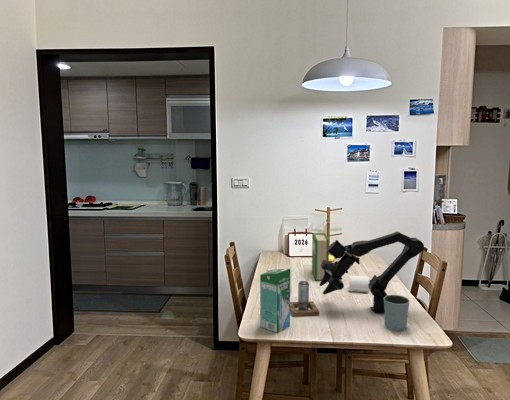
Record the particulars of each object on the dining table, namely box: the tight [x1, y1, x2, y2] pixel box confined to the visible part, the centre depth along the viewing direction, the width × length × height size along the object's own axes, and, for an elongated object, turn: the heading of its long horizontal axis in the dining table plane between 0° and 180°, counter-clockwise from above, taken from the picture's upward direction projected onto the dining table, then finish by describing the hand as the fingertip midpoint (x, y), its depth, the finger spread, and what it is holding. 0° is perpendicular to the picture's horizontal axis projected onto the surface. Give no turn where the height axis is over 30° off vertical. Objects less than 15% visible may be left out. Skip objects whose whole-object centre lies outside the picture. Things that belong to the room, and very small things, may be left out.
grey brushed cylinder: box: [297, 280, 310, 310], centre depth 183 cm, size 5×5×14 cm
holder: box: [290, 300, 320, 318], centre depth 184 cm, size 12×12×2 cm
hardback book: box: [311, 232, 330, 282], centre depth 233 cm, size 18×7×24 cm, turn 177°
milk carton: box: [259, 267, 291, 334], centre depth 166 cm, size 9×9×25 cm
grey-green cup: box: [384, 294, 410, 332], centre depth 167 cm, size 10×10×12 cm
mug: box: [348, 275, 370, 293], centre depth 211 cm, size 12×10×8 cm
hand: (321, 289), depth 186 cm, fingers open, 9 cm apart
